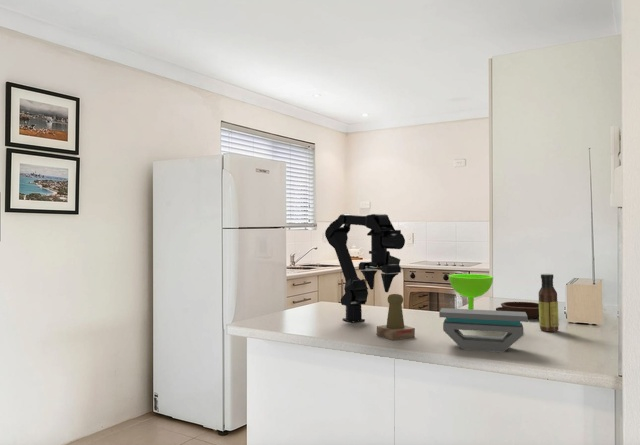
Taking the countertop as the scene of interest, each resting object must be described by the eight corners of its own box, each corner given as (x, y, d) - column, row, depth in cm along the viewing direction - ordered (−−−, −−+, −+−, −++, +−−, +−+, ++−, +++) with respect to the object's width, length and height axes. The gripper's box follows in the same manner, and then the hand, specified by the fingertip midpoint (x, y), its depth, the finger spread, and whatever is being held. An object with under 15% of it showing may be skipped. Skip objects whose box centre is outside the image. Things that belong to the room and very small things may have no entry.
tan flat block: (376, 335, 177) (376, 326, 177) (397, 332, 181) (397, 323, 181) (393, 340, 169) (393, 331, 169) (415, 337, 173) (415, 328, 173)
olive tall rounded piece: (398, 329, 171) (398, 296, 171) (382, 327, 175) (382, 294, 175) (407, 326, 176) (407, 294, 176) (392, 324, 180) (392, 292, 180)
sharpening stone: (439, 347, 159) (439, 312, 159) (441, 342, 167) (441, 308, 167) (527, 353, 152) (527, 316, 152) (525, 347, 159) (525, 312, 159)
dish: (556, 322, 200) (556, 309, 200) (495, 319, 207) (495, 306, 207) (551, 314, 217) (551, 302, 217) (495, 311, 223) (495, 300, 223)
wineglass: (440, 324, 195) (440, 276, 195) (461, 318, 207) (461, 273, 207) (481, 330, 184) (481, 279, 184) (500, 323, 196) (500, 275, 196)
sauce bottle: (557, 329, 186) (557, 273, 186) (559, 333, 180) (559, 275, 180) (537, 328, 188) (537, 272, 188) (539, 331, 182) (539, 274, 182)
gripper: (412, 248, 187) (412, 292, 187) (381, 246, 204) (381, 286, 204) (387, 249, 182) (387, 294, 182) (357, 247, 198) (357, 288, 198)
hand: (379, 290), depth 192 cm, fingers open, 9 cm apart
